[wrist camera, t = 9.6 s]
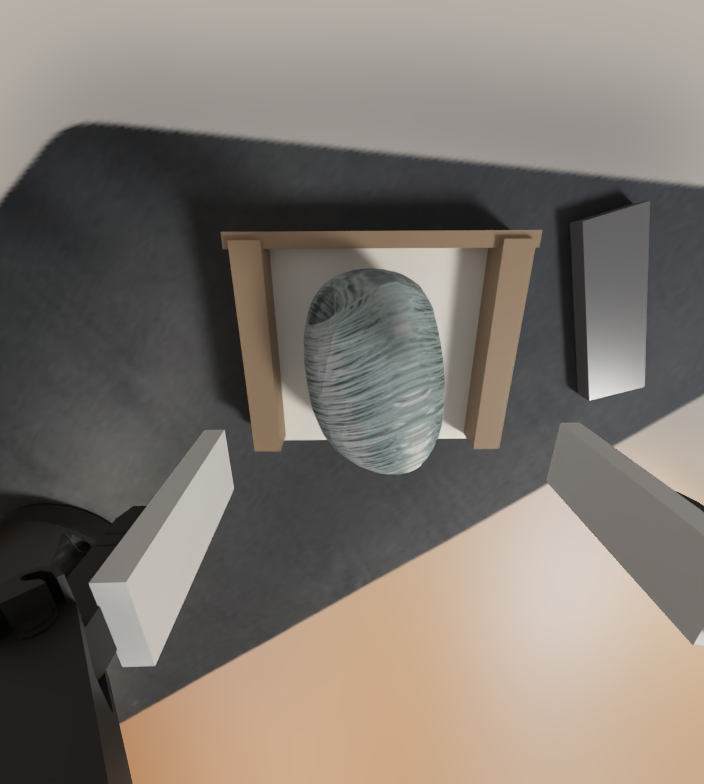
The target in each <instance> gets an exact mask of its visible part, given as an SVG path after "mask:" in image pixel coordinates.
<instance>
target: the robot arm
mask: <svg viewBox="0 0 704 784" xmlns="http://www.w3.org/2000/svg"><path fill="white" fill-rule="evenodd" d="M546 481H547V483H548V484H549V485H550V486H551V487H552V488H553V489H554V490H555V491H556V493H557V494H558V495H559V496H560V497H561V498H562V499H563V500H564V501H565V503H566V504H567V505H568V506H569V507H570V508H571V509H572V511H573V512H574V513H575V514H576V515H577V516H578V517H579V518H580V519H581V521H582V522H583V523H584V524H585V525H586V526H587V527H588V528H589V530H590V531H591V532H592V533H593V534H594V535H595V536H596V537H597V538H598V540H599V541H600V542H601V543H602V544H603V545H604V546H605V547H606V549H607V550H608V551H609V552H610V553H611V554H612V555H613V556H614V558H616V560H617V561H618V562H619V563H620V564H621V565H622V566H623V568H624V569H625V570H626V571H627V572H628V573H629V574H630V575H631V577H632V578H633V579H634V580H635V581H636V582H637V583H638V584H639V586H640V587H641V588H642V589H643V590H644V591H645V592H646V593H647V594H648V596H649V597H650V598H651V599H652V600H653V601H654V602H655V603H656V604H657V606H658V607H659V608H660V609H661V610H662V611H663V612H664V613H665V615H667V617H668V618H669V619H670V620H671V621H672V622H673V623H674V624H675V626H676V627H677V628H678V629H679V630H680V631H681V633H682V634H683V635H684V636H685V637H686V638H687V639H688V640H689V641H690V643H691V644H692V645H704V506H703V505H701V504H700V503H699V502H697V501H695V500H693V499H691V498H689V497H687V496H685V495H683V494H681V493H678V492H676V491H674V490H672V489H671V488H670V487H668V486H667V485H665V484H664V483H663V482H661V481H660V480H658V479H657V478H656V477H654V476H653V475H652V474H650V473H649V472H647V471H646V470H645V469H643V468H642V467H640V466H639V465H637V464H636V463H635V462H633V461H632V460H631V459H629V458H628V457H627V456H625V455H624V454H622V453H621V452H620V451H618V450H617V449H615V448H614V447H613V446H611V445H610V444H609V443H607V442H606V441H604V440H603V439H602V438H600V437H599V436H597V435H596V434H595V433H593V432H592V431H590V430H589V429H588V428H586V427H585V426H583V425H582V424H581V423H560V427H559V431H558V435H557V439H556V443H555V447H554V452H553V456H552V460H551V464H550V468H549V472H548V476H547V480H546ZM233 490H234V485H233V479H232V473H231V467H230V461H229V454H228V448H227V442H226V436H225V430H204V431H203V433H202V434H201V435H200V437H199V438H198V439H197V441H196V442H195V443H194V445H193V446H192V447H191V448H190V450H189V451H188V452H187V454H186V455H185V456H184V458H183V459H182V460H181V462H180V463H179V464H178V466H177V467H176V468H175V470H174V471H173V472H172V474H171V475H170V476H169V478H168V479H167V480H166V482H165V483H164V484H163V485H162V487H161V488H160V489H159V491H158V492H157V493H156V495H155V496H154V497H153V499H152V500H151V501H150V503H149V504H148V505H147V506H133V507H132V508H130V509H129V510H127V511H126V512H125V513H123V514H122V515H121V516H119V517H118V518H116V519H115V521H114V522H113V523H112V524H109V523H108V522H106V521H104V520H103V519H101V518H99V517H97V516H95V515H93V514H90V513H88V512H85V511H82V510H79V509H76V508H72V507H67V506H62V505H52V504H39V505H31V506H26V507H22V508H19V509H17V510H14V511H12V512H11V513H9V514H7V515H6V516H5V517H3V518H2V519H1V520H0V784H132V779H131V775H130V770H129V766H128V761H127V757H126V752H125V748H124V743H123V739H122V735H121V731H120V726H119V721H118V717H117V712H116V708H115V703H114V699H113V694H112V690H111V685H110V681H109V677H108V675H107V672H106V668H107V667H108V665H109V663H110V661H111V660H112V658H113V656H114V654H115V652H116V653H117V655H118V658H119V660H120V663H121V665H122V667H137V666H155V665H156V663H157V661H158V658H159V656H160V654H161V652H162V649H163V647H164V645H165V643H166V640H167V638H168V636H169V634H170V631H171V629H172V627H173V625H174V622H175V620H176V618H177V616H178V613H179V611H180V609H181V607H182V604H183V602H184V600H185V598H186V595H187V593H188V591H189V589H190V587H191V584H192V582H193V580H194V578H195V575H196V573H197V571H198V569H199V566H200V564H201V562H202V560H203V557H204V555H205V553H206V551H207V548H208V546H209V544H210V542H211V539H212V537H213V535H214V533H215V530H216V528H217V526H218V524H219V521H220V519H221V517H222V515H223V512H224V510H225V508H226V506H227V503H228V501H229V499H230V497H231V495H232V492H233Z"/></svg>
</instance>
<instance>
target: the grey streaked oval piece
mask: <svg viewBox="0 0 704 784" xmlns="http://www.w3.org/2000/svg"><path fill="white" fill-rule="evenodd" d="M304 364H305V372H306V379H307V386H308V392H309V397H310V402H311V406H312V409H313V412H314V415H315V417H316V419H317V421H318V424H319V426H320V428H321V431H322V432H323V434H324V436H325V437H326V439H327V440H328V441H329V443H330V444H331V445H332V446H333V447H334V448H335V450H336V451H338V452H339V453H340V454H341V455H343V456H344V457H345V458H347V459H348V460H350V461H352V462H353V463H355V464H357V465H358V466H360V467H363V468H365V469H368V470H371V471H374V472H377V473H381V474H403V473H408V472H411V471H413V470H415V469H417V468H419V467H420V466H421V464H422V463H423V462H424V461H425V460H426V459H427V458H428V456H429V454H430V453H431V451H432V450H433V447H434V445H435V443H436V441H437V439H438V436H439V433H440V430H441V426H442V419H443V412H444V401H445V375H444V364H443V355H442V349H441V342H440V337H439V332H438V327H437V323H436V320H435V315H434V311H433V307H432V305H431V303H430V301H429V299H428V298H427V296H426V295H425V293H424V292H423V290H422V288H421V287H420V286H419V285H418V284H417V283H415V282H414V281H413V280H411V279H410V278H408V277H406V276H404V275H402V274H400V273H397V272H394V271H388V270H385V269H373V268H367V269H358V270H352V271H349V272H346V273H343V274H340V275H338V276H335V277H333V278H332V279H331V280H329V281H328V282H326V283H325V284H324V285H323V286H322V287H321V288H320V289H319V291H318V292H317V294H316V295H315V297H314V298H313V300H312V302H311V305H310V308H309V311H308V315H307V319H306V324H305V330H304Z"/></svg>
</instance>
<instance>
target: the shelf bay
mask: <svg viewBox="0 0 704 784" xmlns="http://www.w3.org/2000/svg"><path fill="white" fill-rule="evenodd" d="M541 235H542V230H446V231H273V232H221V239H222V246H223V249H228V250H229V258H230V266H231V273H232V281H233V288H234V296H235V304H236V311H237V319H238V327H239V334H240V342H241V350H242V357H243V365H244V373H245V380H246V388H247V396H248V403H249V411H250V418H251V426H252V434H253V441H254V449H255V451H281V448H282V445H283V442H284V440H327V439H326V437H325V436H324V434H323V432H322V431H321V428H320V426H319V424H318V421H317V419H316V417H315V415H314V412H313V409H312V406H311V402H310V397H309V392H308V386H307V379H306V372H305V364H304V330H305V324H306V319H307V315H308V311H309V308H310V305H311V302H312V300H313V298H314V297H315V295H316V294H317V292H318V291H319V289H320V288H321V287H322V286H323V285H324V284H325V283H326V282H328V281H329V280H331V279H332V278H333V277H335V276H338V275H340V274H343V273H346V272H349V271H352V270H358V269H367V268H373V269H385V270H388V271H394V272H397V273H400V274H402V275H404V276H406V277H408V278H410V279H411V280H413V281H414V282H415V283H417V284H418V285H419V286H420V287H421V288H422V290H423V292H424V293H425V295H426V296H427V298H428V299H429V301H430V303H431V305H432V307H433V311H434V315H435V320H436V323H437V327H438V332H439V337H440V342H441V349H442V355H443V364H444V375H445V401H444V412H443V419H442V426H441V430H440V433H439V436H438V439H455V438H467V440H468V441H469V443H470V444H471V446H472V448H473V449H499V446H500V440H501V435H502V429H503V424H504V418H505V413H506V407H507V402H508V396H509V391H510V385H511V380H512V374H513V368H514V363H515V357H516V352H517V346H518V341H519V335H520V330H521V324H522V319H523V313H524V308H525V302H526V296H527V291H528V285H529V280H530V274H531V269H532V263H533V258H534V252H535V247H539V246H540V241H541Z"/></svg>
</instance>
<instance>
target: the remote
mask: <svg viewBox="0 0 704 784" xmlns="http://www.w3.org/2000/svg"><path fill="white" fill-rule="evenodd" d="M649 219H650V201H645V202H639V203H633V204H630V205H626V206H623V207H620V208H616V209H613V210H610V211H607V212H603V213H600V214H597V215H594V216H590V217H587V218H584V219H581V220H577V221H574V222H571V223H570V240H571V260H572V281H573V302H574V323H575V343H576V364H577V385H578V394H579V395H581V396H582V397H584V398H586V399H587V400H589V401H591V400H595V399H598V398H602V397H606V396H610V395H614V394H618V393H622V392H626V391H630V390H634V389H638V388H642V387H645V354H646V321H647V287H648V253H649Z"/></svg>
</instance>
